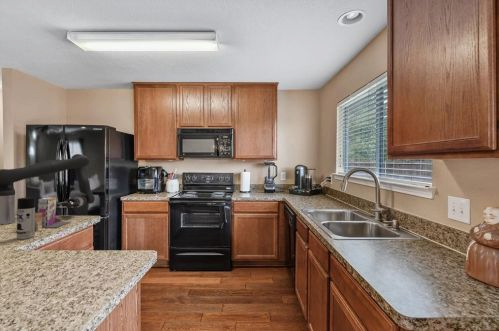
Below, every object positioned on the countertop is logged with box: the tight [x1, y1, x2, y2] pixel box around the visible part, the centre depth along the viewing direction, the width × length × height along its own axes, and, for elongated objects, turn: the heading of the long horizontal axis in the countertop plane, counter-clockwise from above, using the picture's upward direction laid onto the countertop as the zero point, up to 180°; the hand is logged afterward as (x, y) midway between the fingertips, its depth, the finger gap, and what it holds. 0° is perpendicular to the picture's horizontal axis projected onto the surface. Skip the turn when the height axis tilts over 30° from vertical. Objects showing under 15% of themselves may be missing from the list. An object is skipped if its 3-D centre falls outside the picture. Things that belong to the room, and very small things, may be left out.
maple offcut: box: [35, 221, 43, 230], centre depth 139 cm, size 4×4×4 cm
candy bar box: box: [37, 196, 57, 228], centre depth 148 cm, size 11×5×16 cm, turn 17°
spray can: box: [16, 196, 36, 240], centre depth 124 cm, size 7×7×20 cm
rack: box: [35, 217, 63, 233], centre depth 145 cm, size 9×22×4 cm, turn 8°
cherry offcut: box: [35, 212, 42, 223], centre depth 139 cm, size 4×4×4 cm
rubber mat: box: [44, 221, 71, 229], centre depth 149 cm, size 6×13×1 cm, turn 8°
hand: (60, 206), depth 161 cm, fingers open, 8 cm apart
